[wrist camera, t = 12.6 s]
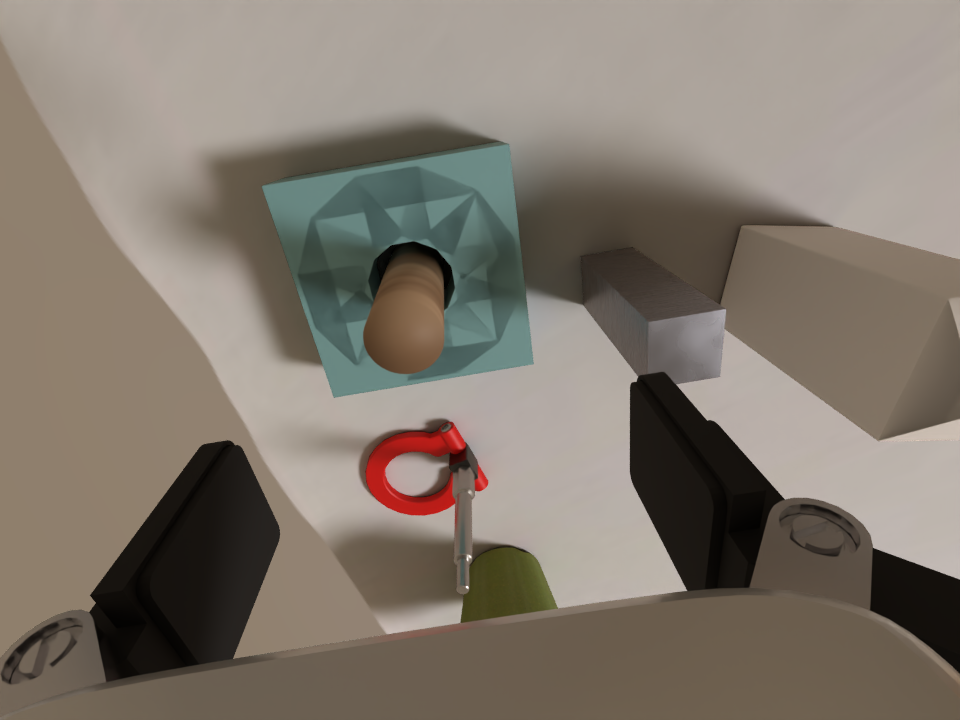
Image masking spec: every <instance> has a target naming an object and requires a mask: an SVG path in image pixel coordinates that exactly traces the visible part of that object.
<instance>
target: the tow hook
mask: <svg viewBox="0 0 960 720" xmlns="http://www.w3.org/2000/svg"><path fill="white" fill-rule="evenodd" d="M407 452H425V453H429V454H432V455H434V456H436V457H440V456H442V455H445V454H447V453H450V460H449V468H450V470H451V471H452V472H451V474H450V479H449V482H448V484H447V485H446V486H445V488H444V489H442V490H441V491H440V492H438V493H436V494H434V495H432V496H427V497H411V496H406V495H404V494H402V493H399V492H398V491H396V490H395V489H394V488H392V486H391V485H390V484H389V483H388V481H387V478H386V476H385V468H386V466H387V465H388V463H389V462H390V461H391V460H392V459H394V458H395V457H396V456H398V455H401V454H403V453H407ZM366 482H367V485H368V487H369V489H370V492H371V493H372V494H373V495H374V497H375V498H376V499H377V500H378V501H379V502H381V503H382V504H383V505H385V506H386V507H387V508H390V509H392V510H394V511H397V512H399V513H404V514H408V515H429V514H434V513H438V512H441V511H443V510H446V509H448V508H449V507H451V506H452V505H454V504H455V531H454V563H455V564H456V565H457V582H456V591H457V592H458V593H459V594H466V593H468V592H469V565H470V564H471V563H472V499H473V498H474V496H475V491H482V490H483V489H485V488H486V487H487V485H488V480H487V478H486V477H485V475H484V473H483V472H482V470H481V468H480V467H479V465H478V462H477V459H476V458H475V456H474V454H473V453H472V451H471V449H470V448H469V446H468V444H467V443H466V442H464V440H463V438H462V437H461V435H460V433H459V432H458V430H457V428H456V427H455V425H454V423H453V422H447V423H445V424H443V425H442V426H441V427H440V428H439V430H438V431H436V432H434V433H431V434H430V433H426V432H406V433H401V434H397V435H394V436H392V437H390V438H388V439H386V440H384V441H383V442H382V443H380V444H379V445H378V446H377V447H376V448H375V449H374V451H373V452H372V454H371V455H370V457H369V460H368V464H367V468H366Z"/></svg>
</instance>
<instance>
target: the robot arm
mask: <svg viewBox="0 0 960 720" xmlns="http://www.w3.org/2000/svg"><path fill="white" fill-rule="evenodd" d="M630 475H631V480H632V483H633V485H634V487H635V489H636V491H637V493H638V495H639V497H640V499H641V501H642V503H643V505H644V507H645V509H646V511H647V513H648V515H649V517H650V519H651V521H652V523H653V525H654V527H655V528H656V530H657V532H658V534H659V536H660V538H661V540H662V542H663V544H664V546H665V548H666V550H667V552H668V554H669V556H670V558H671V560H672V562H673V564H674V566H675V568H676V570H677V572H678V573H679V575H680V577H681V579H682V581H683V583H684V585H685V587H686V589H687V591H683V592H674V593H667V594H659V595H652V596H644V597H636V598H629V599H621V600H614V601H606V602H599V603H592V604H585V605H579V606H572V607H565V608H558V609H552V610H545V611H538V612H532V613H525V614H518V615H511V616H505V617H498V618H491V619H485V620H478V621H471V622H465V623H458V624H452V625H445V626H439V627H432V628H426V629H419V630H413V631H406V632H400V633H393V634H387V635H381V636H374V637H368V638H361V639H356V640H349V641H342V642H336V643H330V644H323V645H317V646H311V647H304V648H298V649H292V650H286V651H280V652H274V653H267V654H261V655H255V656H249V657H242V658H236V659H233V657H234V654H235V652H236V649H237V647H238V644H239V642H240V639H241V637H242V634H243V631H244V629H245V626H246V624H247V621H248V619H249V616H250V614H251V611H252V608H253V606H254V603H255V601H256V598H257V596H258V593H259V591H260V588H261V585H262V583H263V580H264V578H265V575H266V573H267V570H268V567H269V565H270V562H271V560H272V557H273V555H274V552H275V549H276V547H277V545H278V542H279V538H280V529H279V525H278V523H277V521H276V519H275V517H274V515H273V512H272V510H271V508H270V506H269V504H268V502H267V500H266V498H265V496H264V493H263V491H262V489H261V487H260V485H259V483H258V481H257V479H256V476H255V474H254V472H253V470H252V468H251V466H250V464H249V462H248V460H247V457H246V455H245V453H244V451H243V449H242V448H241V447H240V446H238V445H234V443H233V442H231V441H228V440H227V441H221V442H215V443H208V444H204V445H202V446H201V447H200V448H199V449H198V450H197V452H196V453H195V455H194V456H193V457H192V459H191V460H190V461H189V463H188V464H187V465H186V467H185V468H184V469H183V471H182V472H181V473H180V475H179V476H178V478H177V479H176V480H175V482H174V483H173V484H172V486H171V487H170V488H169V490H168V491H167V493H166V494H165V495H164V496H163V498H162V499H161V500H160V502H159V503H158V505H157V506H156V507H155V509H154V510H153V511H152V513H151V514H150V515H149V517H148V518H147V519H146V521H145V522H144V523H143V525H142V526H141V527H140V529H139V530H138V531H137V533H136V534H135V536H134V537H133V538H132V540H131V541H130V542H129V544H128V545H127V546H126V548H125V549H124V550H123V552H122V553H121V554H120V556H119V557H118V559H117V560H116V561H115V563H114V564H113V565H112V567H111V568H110V569H109V571H108V572H107V573H106V575H105V576H104V577H103V579H102V580H101V581H100V583H99V584H98V585H97V587H96V588H95V590H94V591H93V592H92V594H91V595H90V596H91V597H92V599H93V600H94V601H95V602H96V604H95V605H94V607H93V608H92V609H91V611H90V612H87V611H84V610H72V611H67V612H64V613H61V614H58V615H56V616H53V617H51V618H49V619H47V620H46V621H43V622H42V623H40V624H39V625H37V626H35V627H34V628H33V629H31V630H30V631H28V632H27V633H25V634H24V635H23V636H22V637H21V638H19V639H18V640H17V641H16V642H15V643H14V644H13V645H11V647H10V648H9V649H8V650H7V651H6V652H5V653H4V655H2V657H1V658H0V720H960V580H959V579H957V578H954V577H951V576H948V575H946V574H943V573H940V572H937V571H935V570H932V569H929V568H926V567H924V566H921V565H918V564H915V563H913V562H910V561H907V560H904V559H902V558H899V557H896V556H893V555H891V554H888V553H885V552H882V551H880V550H877V549H874V548H873V545H872V540H871V536H870V534H869V532H868V531H867V530H866V528H865V527H864V525H863V524H862V523H861V522H860V521H858V520H857V519H856V518H855V517H854V516H853V515H851V514H850V513H848V512H846V511H844V510H843V509H841V508H839V507H837V506H835V505H832V504H829V503H827V502H824V501H820V500H815V499H810V498H791V499H786V500H785V499H784V498H783V497H782V496H781V495H780V494H779V493H778V491H777V490H776V489H775V488H774V487H773V486H772V485H771V483H770V482H769V481H768V480H767V479H766V478H765V477H764V476H763V474H762V473H761V472H760V471H759V470H758V469H757V468H756V467H755V465H754V464H753V463H752V462H751V461H750V460H749V459H748V458H747V456H746V455H745V454H744V453H743V452H742V451H741V450H740V449H739V447H738V446H737V445H736V444H735V443H734V442H733V441H732V440H731V438H730V437H729V436H728V435H727V434H726V433H725V432H724V430H723V429H722V428H721V427H720V426H719V425H718V424H717V423H716V422H714V421H711V420H709V421H707V420H706V419H705V418H704V417H703V415H702V414H701V413H700V412H699V411H698V410H697V408H696V407H695V406H694V405H693V404H692V403H691V402H690V400H689V399H688V398H687V397H686V396H685V395H684V393H683V392H682V391H681V390H680V389H679V388H678V386H677V385H676V384H675V383H674V382H673V381H672V379H671V378H670V377H669V376H668V375H667V374H666V373H665V372H657V373H650V374H644V375H639V376H638V379H637V382H633V383H631V386H630Z"/></svg>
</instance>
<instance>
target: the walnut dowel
mask: <svg viewBox="0 0 960 720" xmlns="http://www.w3.org/2000/svg"><path fill="white" fill-rule="evenodd" d="M363 341H364V346H365V348H366V351H367V353H368V355H369V356H370V357H371V359H372V360H373V361H374V362H375V363H376V364H377V365H379V366H380V367H382V368H383V369H385V370H387V371H390V372H393V373H398V374H413V373H417V372H420V371H423V370H425V369H427V368H428V367H430V366H431V365H432V364H433V363H434V362H435V361H436V360H437V359H438V357H439V356H440V354H441V352H442V349H443V346H444V271H443V260H442V257H441V255H440V253H439V252H438V250H437V249H434V248H432V247H429V246H426V245H424V244H421V243H418V242H415V241H412V242H406V243H401V244H400V245H398V246H397V247H396V248H395V250H394V251H393V253H392V255H391V257H390V260H389V263H388V265H387V268H386V271H385V273H384V276H383V279H382V281H381V284H380V286H379V289H378V292H377V294H376V297H375V300H374V302H373V305H372V308H371V310H370V313H369V316H368V318H367V321H366V323H365V326H364V330H363Z"/></svg>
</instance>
